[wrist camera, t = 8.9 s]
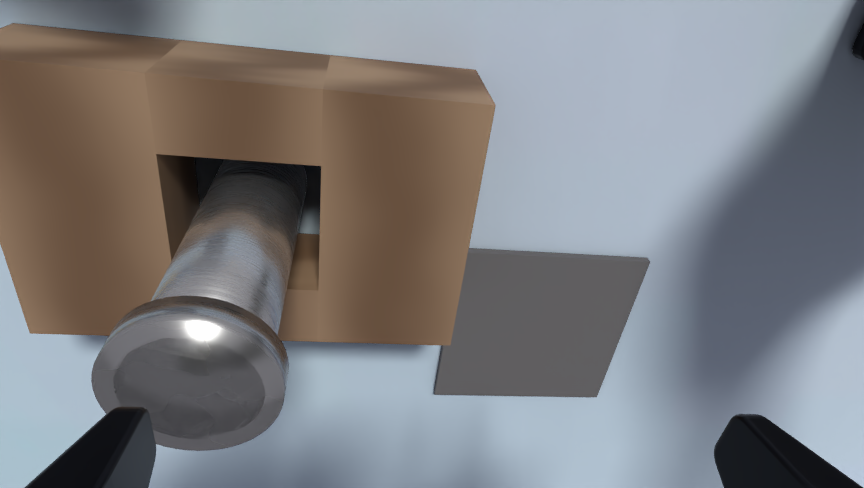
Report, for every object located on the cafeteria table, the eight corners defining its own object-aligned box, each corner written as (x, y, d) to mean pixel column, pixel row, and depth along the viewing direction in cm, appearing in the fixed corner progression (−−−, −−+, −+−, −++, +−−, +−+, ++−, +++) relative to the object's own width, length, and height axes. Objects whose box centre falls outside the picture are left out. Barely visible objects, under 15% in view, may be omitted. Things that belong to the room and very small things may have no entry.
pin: (319, 133, 20) (282, 324, 11) (317, 228, 21) (285, 450, 13) (204, 124, 19) (73, 317, 11) (213, 222, 21) (109, 450, 13)
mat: (647, 258, 24) (650, 261, 23) (594, 392, 28) (596, 397, 28) (459, 247, 23) (460, 251, 22) (433, 389, 27) (434, 394, 27)
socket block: (475, 70, 19) (495, 105, 16) (440, 287, 24) (450, 345, 21) (13, 23, 17) (-62, 53, 14) (76, 271, 22) (29, 333, 19)
